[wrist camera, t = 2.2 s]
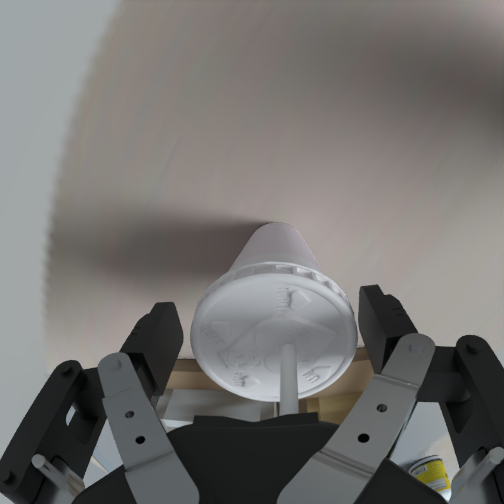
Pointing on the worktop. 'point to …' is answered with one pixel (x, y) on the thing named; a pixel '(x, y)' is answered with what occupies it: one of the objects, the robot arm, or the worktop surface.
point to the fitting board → (234, 406)
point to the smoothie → (274, 323)
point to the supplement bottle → (432, 475)
